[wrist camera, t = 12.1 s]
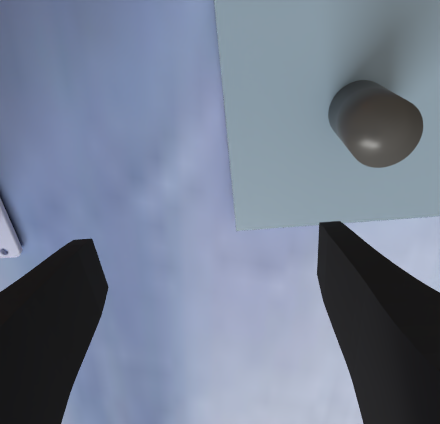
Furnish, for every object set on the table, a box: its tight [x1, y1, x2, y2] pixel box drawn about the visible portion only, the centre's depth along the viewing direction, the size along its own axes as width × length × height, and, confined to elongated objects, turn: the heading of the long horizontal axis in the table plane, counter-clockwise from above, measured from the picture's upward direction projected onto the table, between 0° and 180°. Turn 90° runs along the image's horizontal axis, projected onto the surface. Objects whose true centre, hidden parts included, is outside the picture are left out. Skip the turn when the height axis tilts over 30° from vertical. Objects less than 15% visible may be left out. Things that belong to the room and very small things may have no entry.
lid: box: [214, 0, 440, 231], centre depth 16 cm, size 13×13×5 cm
